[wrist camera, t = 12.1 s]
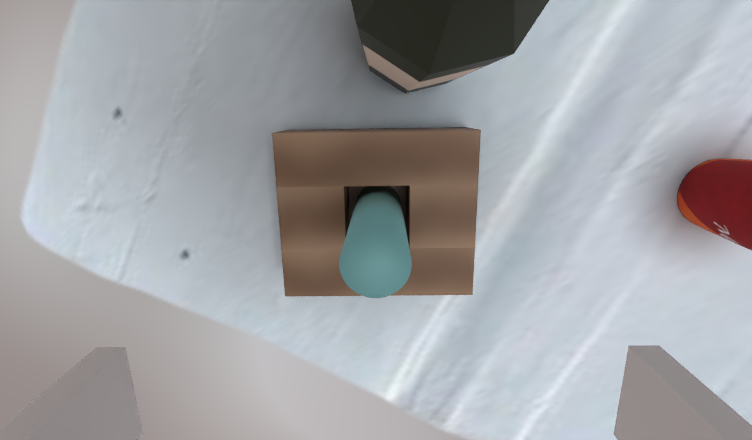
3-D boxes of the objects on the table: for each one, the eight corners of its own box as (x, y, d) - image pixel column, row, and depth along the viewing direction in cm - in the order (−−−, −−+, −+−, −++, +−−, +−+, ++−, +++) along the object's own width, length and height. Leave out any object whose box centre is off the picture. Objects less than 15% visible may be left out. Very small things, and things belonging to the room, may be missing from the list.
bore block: (288, 129, 32) (272, 133, 27) (465, 127, 32) (480, 130, 27) (298, 271, 35) (285, 296, 30) (459, 269, 35) (472, 294, 30)
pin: (355, 183, 32) (336, 231, 20) (400, 182, 32) (410, 228, 20) (357, 227, 33) (341, 298, 21) (401, 225, 33) (412, 297, 21)
